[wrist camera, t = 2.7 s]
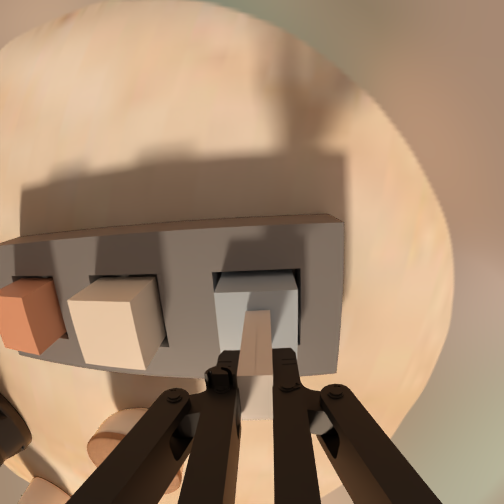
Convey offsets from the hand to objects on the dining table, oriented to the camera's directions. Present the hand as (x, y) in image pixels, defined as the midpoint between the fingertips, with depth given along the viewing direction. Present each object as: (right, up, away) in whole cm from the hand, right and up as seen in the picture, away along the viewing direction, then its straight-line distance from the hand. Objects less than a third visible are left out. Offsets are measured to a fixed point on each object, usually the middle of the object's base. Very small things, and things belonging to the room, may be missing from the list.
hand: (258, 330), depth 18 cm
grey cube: (0, +1, +5) cm, 5 cm away
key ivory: (-10, 0, +4) cm, 11 cm away
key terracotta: (-20, 0, +5) cm, 20 cm away
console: (-10, +1, +8) cm, 13 cm away
